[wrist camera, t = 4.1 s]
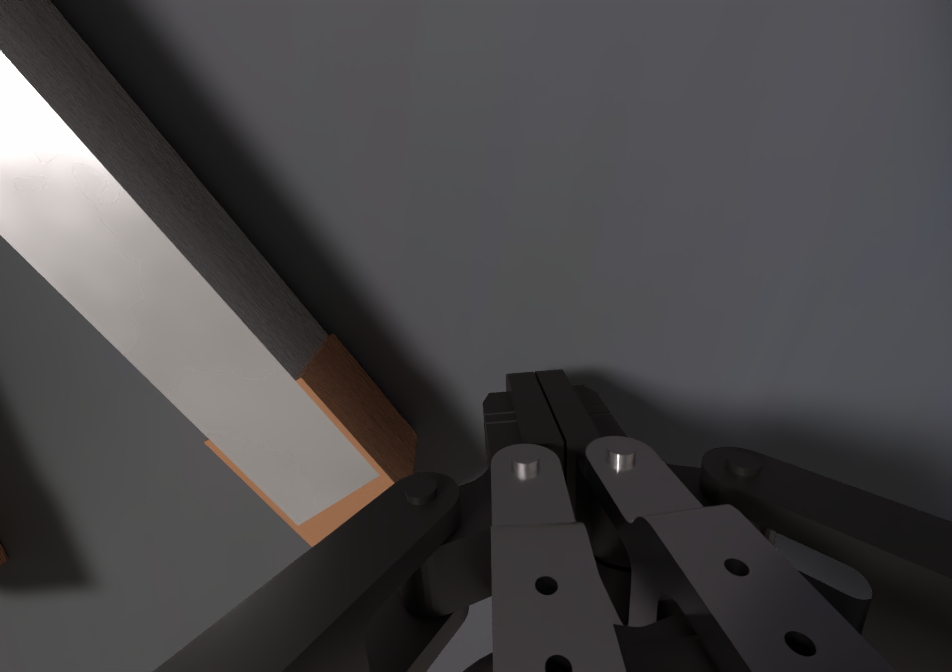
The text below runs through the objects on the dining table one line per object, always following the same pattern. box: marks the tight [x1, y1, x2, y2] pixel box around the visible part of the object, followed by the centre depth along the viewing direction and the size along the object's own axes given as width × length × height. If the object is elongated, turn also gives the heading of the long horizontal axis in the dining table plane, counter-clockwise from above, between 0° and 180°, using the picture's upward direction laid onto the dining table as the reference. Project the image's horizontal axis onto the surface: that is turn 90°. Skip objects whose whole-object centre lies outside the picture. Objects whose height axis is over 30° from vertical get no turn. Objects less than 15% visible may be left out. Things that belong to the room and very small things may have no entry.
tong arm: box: [0, 0, 418, 547], centre depth 10 cm, size 19×3×3 cm, turn 33°
